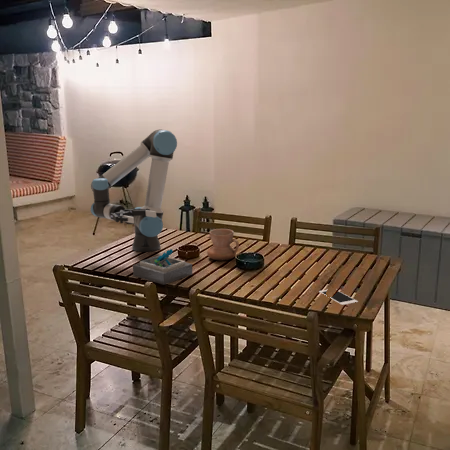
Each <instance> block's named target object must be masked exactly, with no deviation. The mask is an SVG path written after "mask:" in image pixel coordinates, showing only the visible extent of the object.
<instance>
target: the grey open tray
mask: <svg viewBox="0 0 450 450" xmlns="http://www.w3.org/2000/svg"><path fill="white" fill-rule="evenodd" d="M162 255H163V254H160V255H157V256H153V257H149V258H147V259H143V260H140V261H139V262H138V263H135V264H133V265H132V273H133V275H132V276H133V277H138V278H139V279H140V278H141V279H144V280H147V281H150V282H154V283H157V284H160V285H164V286H165V285H167V284H170V283H173V282H176V281H179V280H181V279H183V278H186V277H189V276H192V275H193V263H191V262H190V263H189V262H186V261H185V260H181V259H177V258H175V257H170V256H169V257H168V258H167V260H168V261H169V262H170V264H171V265H168V263H167V262H166V261H164V262H162V263H160V264H161V265H162V266H163V267H162V266H160V265H158V264H155V263H154V262H155V261H154V260H155V259H158V257H159V256H162Z"/></svg>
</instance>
